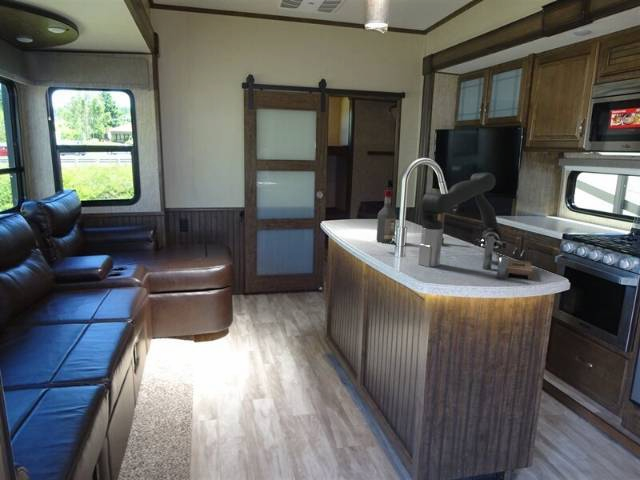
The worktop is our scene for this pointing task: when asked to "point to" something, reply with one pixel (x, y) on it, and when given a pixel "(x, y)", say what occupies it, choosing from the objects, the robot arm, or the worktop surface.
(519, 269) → the plate
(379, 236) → the liquor
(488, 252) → the long pin
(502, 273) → the short pin
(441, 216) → the wooden block
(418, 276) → the worktop surface
